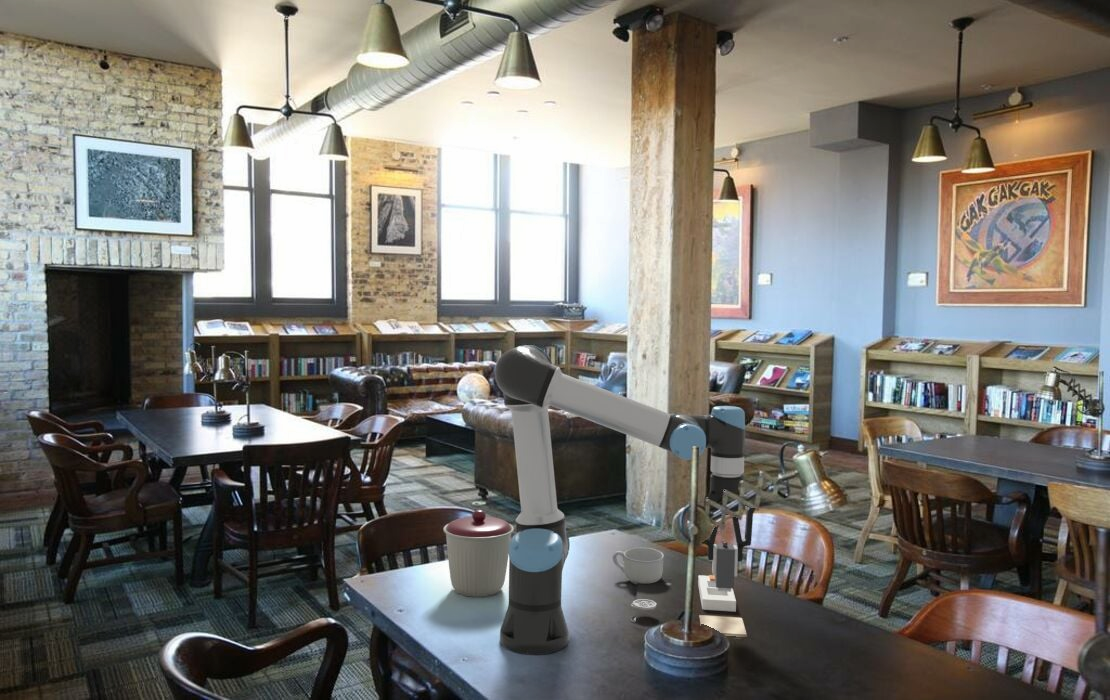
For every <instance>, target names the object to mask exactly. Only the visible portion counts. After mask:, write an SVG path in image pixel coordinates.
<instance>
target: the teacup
mask: <svg viewBox="0 0 1110 700" xmlns="http://www.w3.org/2000/svg"><path fill="white" fill-rule="evenodd" d="M618 555H619V556H621V557H622V560H623V564H621V563H620V561H618V558H617V556H618ZM664 558H665V555H664V553H663V552H662V551H660V550H658V549H655V548H651V547H633V548H632V547H631V548H629V549H627V550H625V551H622V550H617V551H615V552H614V553H613V555H612V561H613V563H614V565H615V566H617V568H619V569H620V570H621V571H622V573H624V575H625V577H626V579H627V580H629V581H630V583H632V584H634V585H636V586H637V585H638V584H642V585H643V584H645V585H646V584H654V583H657V582H658V581H660V580H661V578H662V576H663V571H664Z"/></svg>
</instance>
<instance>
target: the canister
mask: <svg viewBox="0 0 1110 700" xmlns="http://www.w3.org/2000/svg"><path fill="white" fill-rule="evenodd" d="M442 529H443V533H444V534H445V539H446V549H447V558H448V568H449V576H450V583H451V586H452V588H453V590H454V591H455V592H456V593H458V594H460V595H462V596H464V597H465V596H466V597H472V598H473V597H474V598H482V597H488V596H492V595H495V594H497V593H499V592H500V591H501V590H502V588H503V586H505V585H504V584H505V581H506V575H507V568H508V561H509V547H510V541H511V539H512V533H513V532H514V530H515V528H514V526H513V525H512V524H511V523H509V522H508V521H506V520H505V519H502V518H498V517H492V516H487V513H486V511H484V510H482V509H475V510H474V511H473V512H472V515H471V516H466V517H460V518H457V519H456V518H455V519H454V520H452V521H451V522H449V523H447V524H446V525H444V526H443V528H442Z"/></svg>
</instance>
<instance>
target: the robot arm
mask: <svg viewBox="0 0 1110 700" xmlns="http://www.w3.org/2000/svg"><path fill="white" fill-rule="evenodd" d="M494 379H495V383H496V384H497V387H498V389H499V390H501V392H502V393H503V402H504V406H505V408H507V409H508V410H509V411H510V412H511V418H512V419H511V420H512V430H513V440H514V449H515V450H514V451H515V460H516V461H515V462H516V469H517V470H516V471H517V480H518V481H517V482H518V490H519V491H518V493H519V500H520V511H521V512H520V513H519V514H518V516H517V517H516V518H515V528H516V533H515V534H514V535H513V536H511V538H510V547H509V555H508V561H509V565H508V567H509V569H508V570H509V571H508V606H507V609H506V611H505V615H504V618H503V620H502V624H501V626H500V631H499V642H500V644H501V645H502V646H503V647H504V648H506V649H507V650H509V651H512V652H515V653H518V654H519V653H520V654H525V655H545V654H551V653H554V652H555V653H556V652H558V651H561V650H562V649H564V648H565V647H566V646H567V645H568V643H569V627H568V624H567V622H566V617H565V615H564V611H563V608H562V586H563V585H562V583H563V581H562V580H563V578H562V577H563V569H564V567H565V562H566V560H567V557H568V555H569V551H570V537H569V535H568V532H567V528H566V519H565V514H564V512H562V511H561V510H560V509H559V508H558V500H557V489H556V481H555V480H556V479H555V469H554V459H553V450H552V449H553V447H552V438H551V428H550V427H551V426H550V417H549V415H550V414H549V408H550V407H553V408H555V409H559V410H561V411H563V412H567V413H568V414H570V415H571V414H572V415H574V416H576V417H580V418H582V419H584V420H587V421H590V422H593V423H594V424H597V425H600V426H603V427H605V428H608V429H611V430H613V431H616V432H619V433H622V434H624V435H627V436H630V437H632V438H635V439H637V440H640V441H642V442H645V443H649V444H651V445H652V446H656V447H658V448H660V449H663V450H665V451H667V452H670V453H673V455H674V456H676V457H678V458H679V459H682V460H684V461H690V460H693V459H692V447H693V446H697V447H699V457H700V456H701V455H702V454H703V453H704V451H705V450H706V449H707V448H710V450H711V451H710V472H711V473H710V477H709V478H710V479H709V480H710V482H709V493H708V495H707V498H709V499H711V500H713V501H716V502H718V503H722V498H723V497H722V492H723V489H724V488H726V489H727V490H729V491H732V492H734V493H738V492H739V490H738V484H739V481H740V480H744V481H745V478H744V476H743V475H742V474H744V472H745V442H746V415H745V414H746V413H745V410H744V409H743V408H742V407H738V406H733V405H731V406H730V405H718V406H717V405H715V406H714V407H712V409H711V412H710V414H705V415H704V414H703V415H702V414H683V413H682V414H680V413H668V412H666V411H662V410H660V409H658V408H656V407H655V408H654V407H653V406H650V405H647V404H644V403H642V402H639V401H636V400H634V399H631V398H628V397H626V396H624V395H620V394H618V393H615V392H613V391H610V390H607V389H605V388H602V387H599V386H597V385H594V384H592V383H589V382H586V381H583V380H581V379H578V378H575V377H573V376H570V375H568V374H566V373H563V372H562V370H561V368H560V366H557V365H554V364H553V362H552V360H551V358H550V356H549V355H548V354H547V353H546V352H545V351H544V350H543V349H541V348H540V347H538V346H535V345H531V344H530V345H525V344H523V345H519V346H516V347H514V348H510V349H509V350H507V351H505V352H503V354H501V355H500V357H499V358H498V360H497V362H496V364H495V368H494ZM724 491H725V490H724ZM743 506H744V508H745V510H746V513H745V529H744V538H743V536H742V533H741V528H740V526H741V525H740V522H739V517H738V518H736V517H732V516H731V520H732V525H733V531H734V536H735V542H736V545H735V544H732V545H733V546H734V549H735V567H734V578H737V577H738V562H742V561H743V553H744V552H743V550H744V548H746V547H749V546H751V545H752V537H753V536H752V534H753V519H754V513H755V511H756V508H757V507H756V508H750V507H747V506H745V505H744V504H743V505H742V507H743ZM718 530H719V525H718V526H717V527H715V528H714V530H713V532H712V534H711V535H710V537H709V536H708V537H707V538H708V539H707V540H705V541H704V542H702V543H701V544H702V545H706V546H707V559H708V561H712V563H711V564H712V565H711V566H712V567H711V573H712V575H713V576H716V563H717V546H716V544H717V543H715V542H716V538H717V533H718Z"/></svg>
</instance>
